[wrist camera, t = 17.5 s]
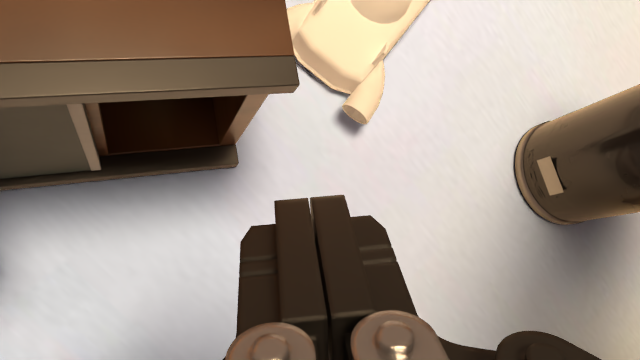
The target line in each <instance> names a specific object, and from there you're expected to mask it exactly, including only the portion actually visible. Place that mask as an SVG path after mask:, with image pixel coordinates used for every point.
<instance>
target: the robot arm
mask: <svg viewBox="0 0 640 360" xmlns="http://www.w3.org/2000/svg"><path fill="white" fill-rule="evenodd" d="M515 171H516V177H517V181H518V185H519V187H520V190H521V192H522V194H523V196H524V198H525V199H526V201H527V202H528V204H529V205H530V206H531V207H532V209H533V210H534V211H535V212H536V213H538V214H539V215H540V216H541V217H543V218H544V219H546V220H548V221H550V222H553V223H556V224H562V225H568V224H575V223H580V222H583V221H586V220H592V219H598V218H606V217H612V216H618V215H625V214H631V213H637V212H640V84H639V85H636V86H634V87H632V88H629V89H627V90H624V91H622V92H620V93H617V94H615V95H612V96H610V97H608V98H605V99H603V100H600V101H598V102H596V103H593V104H591V105H588V106H586V107H584V108H581V109H579V110H576V111H574V112H571V113H569V114H566V115H564V116H562V117H559V118H557V119H555V120H552V121H548V122H544V123H542V124H540V125H537V126H535V127H533V128H531V129H530V130H529V131H528V132H527V133H526V134H525V135H524V136H523V137H522V139H521V141H520V143H519V145H518V148H517V151H516V157H515ZM274 203H275V222H276V224H270V225H259V226H251V227H250V229H249V230H248V232H247V233H246V235H245V236H244V238H243V239H242V241H241V247H240V269H239V276H240V277H239V291H238V314H237V333H236V339H235V340H234V341H233V342H232V344H231V345H230V347H229V349H228V351H227V354H226V357H225V358H224V359H223V360H601V359H599V358H597V357H596V356H594V355H592V354H590V353H588V352H586V351H584V350H582V349H581V348H579V347H577V346H575V345H573V344H571V343H569V342H568V341H566V340H564V339H562V338H559V337H557V336H554V335H551V334H548V333H544V332H538V331H522V332H517V333H514V334H511V335H509V336H507V337H506V338H504V339H503V340H502V341H501V342H500V344H499V345H498V347H497V350H496V351H493V350H486V349H480V348H474V347H467V346H462V345H458V344H454V343H451V342H449V341H446V340H444V339H442V338H440V337H438V336H437V335H436V333H435V331H434V330H433V329H432V327H431V326H430V325H429V324H428V323H426V322H425V321H424V320H422V319H421V318H419V317H418V315H417V313H416V310H415V307H414V305H413V302H412V299H411V297H410V294H409V291H408V289H407V286H406V283H405V280H404V278H403V275H402V272H401V270H400V267H399V264H398V262H397V261H396V256H395V254H394V251H393V248H391V243H390V240H389V237H388V235H387V232H386V229H385V228H384V227H383V226H382V225H381V224H379V223H378V222H377V221H376V220H375V219H374V218H373V217H372V216H370V215H369V216H358V217H350V214H349V210H348V207H347V203H346V200H345V196H344V195H334V196H323V197H311V198H310V208H309V202H308V198H301V199H290V200H278V201H274ZM310 209H311V214H310Z"/></svg>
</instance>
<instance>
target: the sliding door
mask: <svg viewBox="0 0 640 360" xmlns="http://www.w3.org/2000/svg"><path fill="white" fill-rule="evenodd" d="M89 170H91V171H95V170H101V162H100V158H99V154H98V151H97V147H96V144H95V140H94V136H93V133H92V129H91V126H90V122H89V119H88V115H87V112H86V108H85V104H65V105H46V106H27V107H7V108H0V179H4V178H15V177H26V176H36V175H47V174H57V173H68V172H79V171H89Z"/></svg>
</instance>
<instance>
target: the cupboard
mask: <svg viewBox="0 0 640 360" xmlns="http://www.w3.org/2000/svg"><path fill="white" fill-rule="evenodd" d="M298 86H299V79H298V73H297V67H296V61H295V57H294V49H293V44H292V38H291V32H290V26H289V21H288V15H287V9H286V4H285V0H0V108H7V107H27V106H46V105H65V104H85V108H86V112H87V115H88V119H89V122H90V126H91V129H92V133H93V136H94V140H95V144H96V147H97V151H98V154H99V158H100V162H101V170H95V171H91V170H89V171H79V172H68V173H57V174H47V175H36V176H26V177H15V178H4V179H0V191H1V190H11V189H21V188H31V187H41V186H51V185H61V184H71V183H81V182H91V181H101V180H111V179H120V178H130V177H140V176H150V175H160V174H170V173H180V172H190V171H200V170H210V169H220V168H230V167H236V166H237V165H238V163H239V162H238V156H237V149H236V145H235V144H236V143H237V141H238V140H239V138H240V137H241V135H242V134H243V132H244V131H245V129H246V128H247V126H248V125H249V123H250V122H251V120H252V119H253V117H254V115H255V114H256V112H257V111H258V109H259V108H260V106H261V105H262V103H263V102H264V100H265V99H266V97H267V96H268V94H278V93H293V92H294V91H295V90H296V89H297V87H298Z"/></svg>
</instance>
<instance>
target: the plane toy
mask: <svg viewBox="0 0 640 360" xmlns="http://www.w3.org/2000/svg"><path fill="white" fill-rule="evenodd" d="M429 1H430V0H315V1H314V2H313V3H306V4H299V5H296V6H293V7H290V8H288V9H287V15H288V21H289V26H290V32H291V38H292V44H293V49H294V55H295V56H296V58H297V60H298V62H299V63H301V64H302V65H303V66H304V67H305V68H307V69H308V70H309V71H310V72H312V73H313V74H314V75H315V76H316V77H318V78H319V79H320V80H321V81H323V82H324V83H325V84H326V85H328V86H329V87H330V88H331V89H334V90H337V91H341V92H344V93H348V94H351V95H350V96H349V97H348V99H347V100H346V101H345V103H344V104H343V106H342V108H343V110H344V111H345V113H346V114H347V115H348V116H349V117H351V118H352V119H353V120H355V121H357V122H358V123H361V124H367V123H368V122H369V120H370V119H371V117H372V115H373V114H374V112H375V111H376V109H377V108H378V106H379V103H380V100H381V97H382V94H383V89H384V80H385V72H384V64H383V61H382V60H383V59H384V58H385V57H386V55H387V54H388V53H389V51H390V50H391V49H392V48H393V46H394V45H395V44H396V43H397V41H398V40H399V39H400V38H401V36H402V35H403V34H404V33H405V31H406V30H407V29H408V27H409V26H410V25H411V24H412V22H413V21H414V20H415V19H416V17H417V16H418V15H419V13H420V12H421V11H422V10H423V8H424V7H425V6H426V5H427V3H428V2H429Z"/></svg>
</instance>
